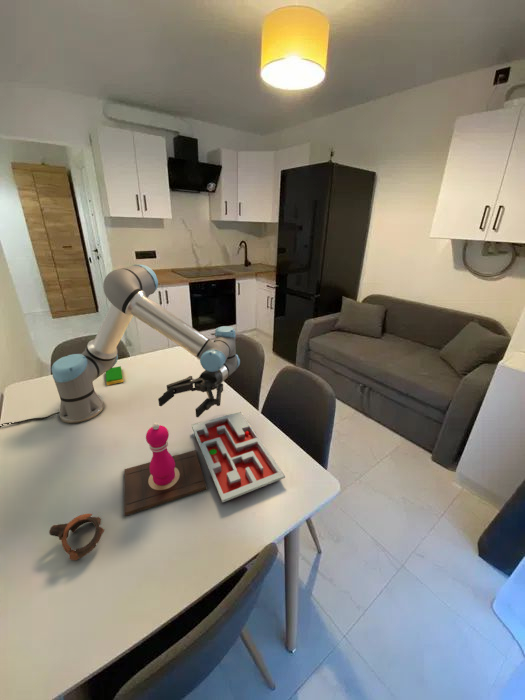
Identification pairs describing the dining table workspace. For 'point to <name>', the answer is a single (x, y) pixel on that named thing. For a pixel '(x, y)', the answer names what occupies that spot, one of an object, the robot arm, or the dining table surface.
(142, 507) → the board
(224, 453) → the maze game
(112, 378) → the dish sponge
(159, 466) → the pepper mill
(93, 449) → the dining table surface
